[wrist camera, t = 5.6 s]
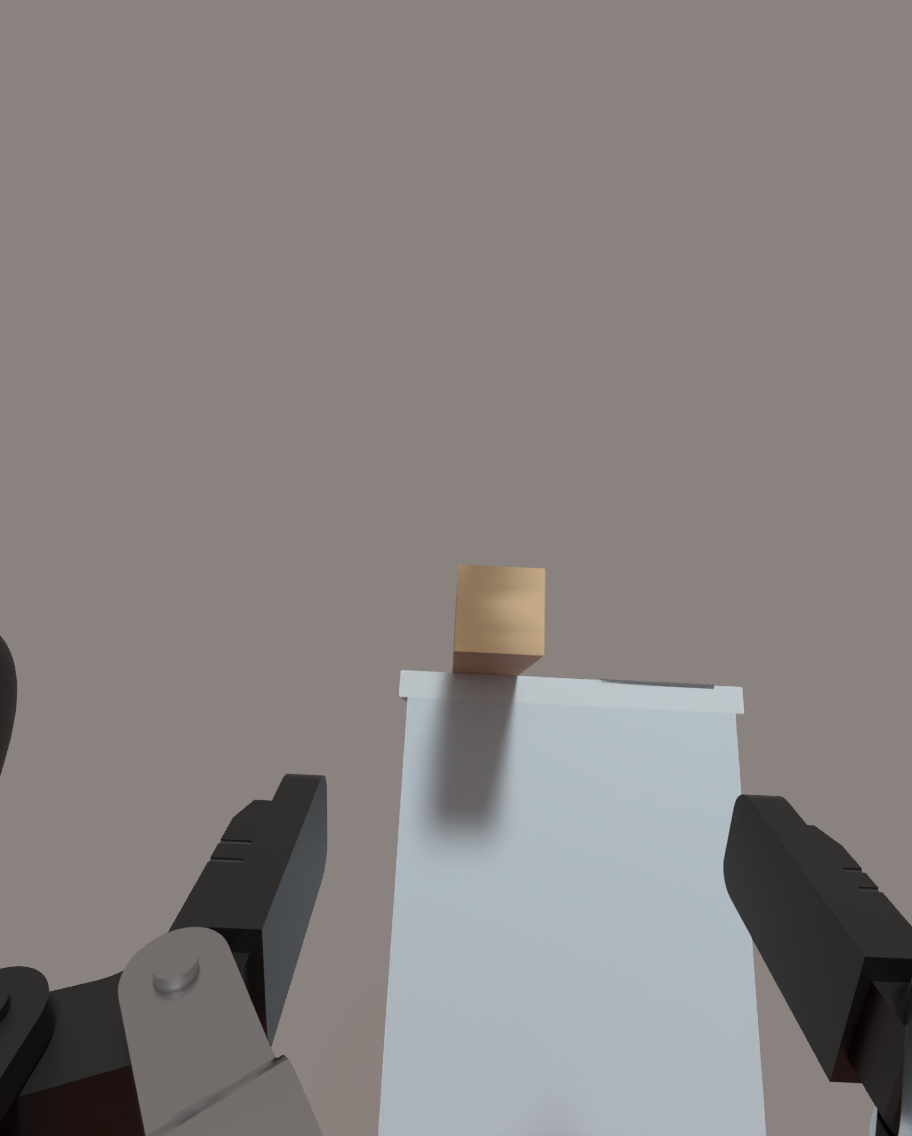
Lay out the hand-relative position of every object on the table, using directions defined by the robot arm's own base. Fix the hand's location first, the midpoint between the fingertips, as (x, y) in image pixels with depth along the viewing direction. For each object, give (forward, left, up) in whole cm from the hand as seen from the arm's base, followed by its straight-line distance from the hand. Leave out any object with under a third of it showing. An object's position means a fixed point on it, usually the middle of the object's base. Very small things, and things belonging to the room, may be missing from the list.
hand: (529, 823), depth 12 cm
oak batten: (0, +18, +4) cm, 19 cm away
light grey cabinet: (+4, +22, -28) cm, 36 cm away
